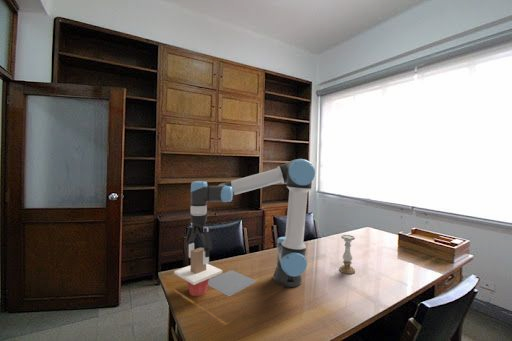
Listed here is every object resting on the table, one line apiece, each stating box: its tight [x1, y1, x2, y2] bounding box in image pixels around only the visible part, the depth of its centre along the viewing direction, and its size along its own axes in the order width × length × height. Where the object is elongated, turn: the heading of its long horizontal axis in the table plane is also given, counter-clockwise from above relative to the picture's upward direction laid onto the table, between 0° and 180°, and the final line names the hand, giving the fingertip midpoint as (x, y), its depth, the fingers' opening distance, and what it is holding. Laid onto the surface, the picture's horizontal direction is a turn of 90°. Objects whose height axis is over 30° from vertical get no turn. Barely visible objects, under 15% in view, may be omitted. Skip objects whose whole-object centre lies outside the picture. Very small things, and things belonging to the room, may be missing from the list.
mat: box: [208, 269, 258, 297], centre depth 127 cm, size 20×20×1 cm
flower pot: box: [186, 278, 210, 297], centre depth 117 cm, size 11×11×10 cm
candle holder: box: [338, 234, 356, 275], centre depth 144 cm, size 9×9×20 cm
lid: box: [173, 247, 223, 285], centre depth 117 cm, size 16×16×11 cm
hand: (198, 260), depth 117 cm, fingers open, 11 cm apart
